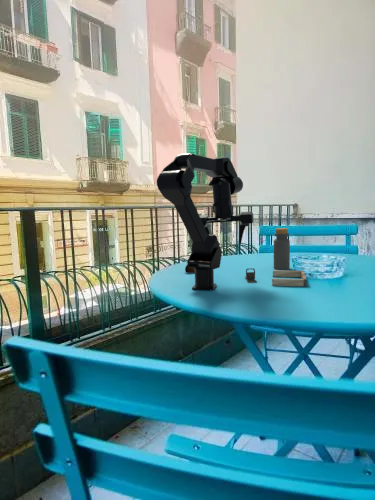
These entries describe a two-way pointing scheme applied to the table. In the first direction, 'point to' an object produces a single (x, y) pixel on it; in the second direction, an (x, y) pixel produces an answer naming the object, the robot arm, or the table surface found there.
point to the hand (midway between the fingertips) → (226, 244)
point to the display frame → (289, 281)
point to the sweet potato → (190, 269)
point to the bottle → (281, 249)
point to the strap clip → (250, 276)
